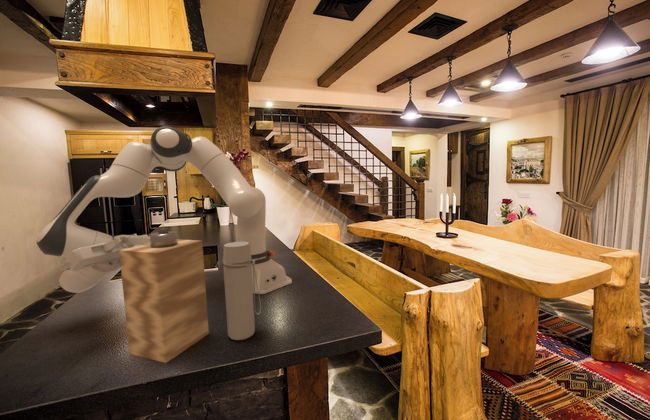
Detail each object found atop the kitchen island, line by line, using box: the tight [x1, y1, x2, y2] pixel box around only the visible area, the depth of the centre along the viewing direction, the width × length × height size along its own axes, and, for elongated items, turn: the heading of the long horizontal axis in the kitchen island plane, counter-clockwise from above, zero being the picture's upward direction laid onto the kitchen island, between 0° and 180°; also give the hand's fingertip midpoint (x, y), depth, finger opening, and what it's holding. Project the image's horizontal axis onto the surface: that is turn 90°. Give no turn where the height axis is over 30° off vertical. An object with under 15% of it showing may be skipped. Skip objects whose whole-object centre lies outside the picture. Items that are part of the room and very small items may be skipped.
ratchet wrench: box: [113, 227, 178, 248], centre depth 78 cm, size 20×6×4 cm, turn 69°
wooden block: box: [119, 238, 210, 364], centre depth 78 cm, size 12×14×26 cm
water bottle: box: [222, 241, 262, 341], centre depth 81 cm, size 9×8×25 cm
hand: (128, 237), depth 81 cm, fingers closed on ratchet wrench, 2 cm apart
